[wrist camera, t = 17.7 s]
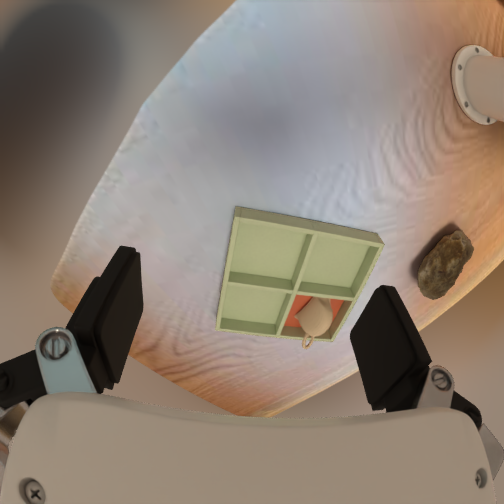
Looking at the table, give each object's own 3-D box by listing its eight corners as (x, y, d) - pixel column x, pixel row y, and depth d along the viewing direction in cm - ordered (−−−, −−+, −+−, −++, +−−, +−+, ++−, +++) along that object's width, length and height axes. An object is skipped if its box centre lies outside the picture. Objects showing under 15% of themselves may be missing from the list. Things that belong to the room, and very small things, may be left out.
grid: (377, 233, 40) (385, 244, 37) (329, 329, 51) (333, 341, 48) (235, 206, 37) (234, 216, 35) (216, 317, 49) (215, 330, 46)
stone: (431, 299, 45) (435, 313, 38) (405, 269, 47) (405, 279, 40) (476, 251, 39) (487, 258, 32) (449, 220, 42) (457, 222, 35)
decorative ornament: (337, 298, 46) (344, 321, 41) (306, 328, 49) (310, 351, 45) (319, 289, 44) (325, 313, 40) (288, 321, 48) (291, 345, 44)
